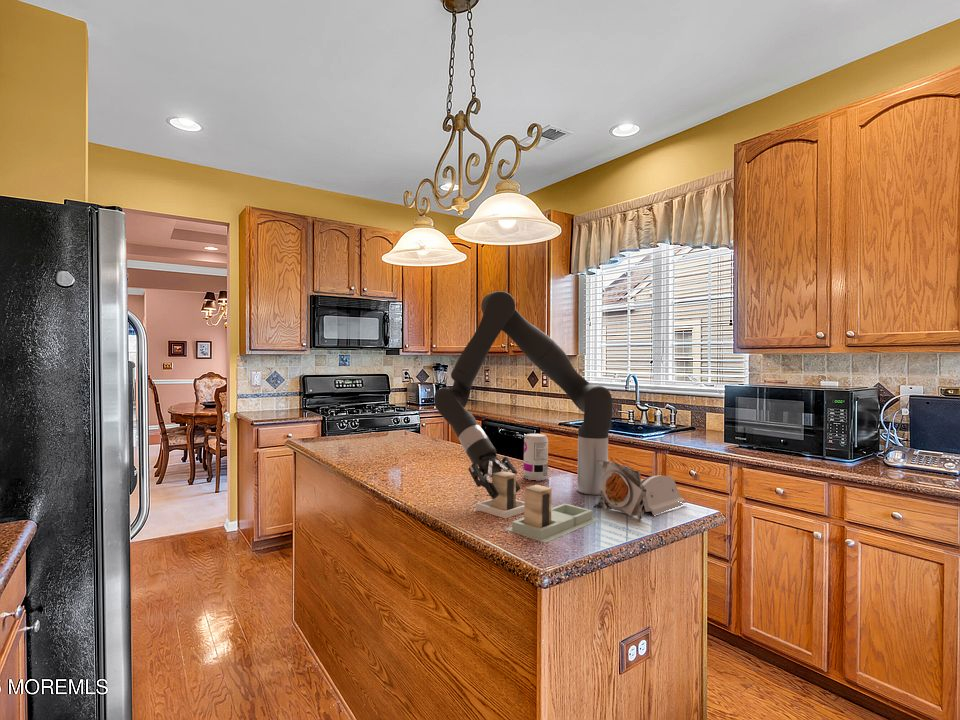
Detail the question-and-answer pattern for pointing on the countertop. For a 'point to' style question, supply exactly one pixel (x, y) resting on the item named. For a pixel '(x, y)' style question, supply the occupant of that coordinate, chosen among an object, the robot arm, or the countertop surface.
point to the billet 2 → (537, 506)
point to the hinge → (660, 494)
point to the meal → (621, 489)
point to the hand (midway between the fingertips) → (507, 494)
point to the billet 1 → (504, 490)
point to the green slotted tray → (556, 523)
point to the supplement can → (535, 457)
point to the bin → (487, 507)
